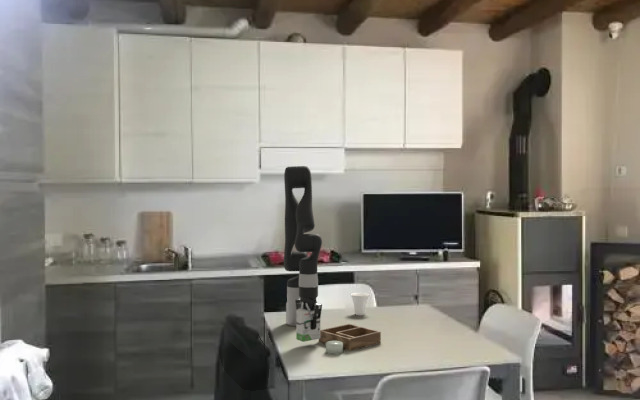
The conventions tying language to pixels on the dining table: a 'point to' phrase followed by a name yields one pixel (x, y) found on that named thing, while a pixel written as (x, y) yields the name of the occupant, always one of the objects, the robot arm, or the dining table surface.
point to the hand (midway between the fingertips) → (308, 327)
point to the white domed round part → (334, 347)
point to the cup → (360, 302)
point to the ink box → (306, 326)
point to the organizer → (351, 336)
